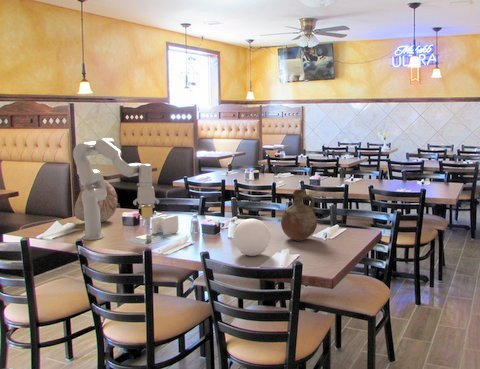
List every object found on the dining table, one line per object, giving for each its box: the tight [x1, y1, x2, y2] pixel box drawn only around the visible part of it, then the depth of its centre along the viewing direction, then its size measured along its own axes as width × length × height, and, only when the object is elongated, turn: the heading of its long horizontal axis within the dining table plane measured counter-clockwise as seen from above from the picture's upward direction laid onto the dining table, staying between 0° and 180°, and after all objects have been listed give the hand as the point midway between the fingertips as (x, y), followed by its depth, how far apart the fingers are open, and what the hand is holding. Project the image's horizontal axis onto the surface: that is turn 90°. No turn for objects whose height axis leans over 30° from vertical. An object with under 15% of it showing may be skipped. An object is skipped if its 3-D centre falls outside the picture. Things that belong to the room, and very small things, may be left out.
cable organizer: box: [150, 213, 179, 236], centre depth 328 cm, size 15×11×12 cm
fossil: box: [74, 180, 119, 223], centre depth 363 cm, size 31×26×30 cm
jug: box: [280, 189, 318, 242], centre depth 308 cm, size 22×22×30 cm
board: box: [124, 233, 170, 246], centre depth 310 cm, size 22×18×5 cm
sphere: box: [232, 218, 271, 257], centre depth 276 cm, size 20×20×20 cm
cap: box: [140, 204, 154, 219], centre depth 305 cm, size 6×6×7 cm
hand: (146, 214), depth 305 cm, fingers closed on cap, 6 cm apart
